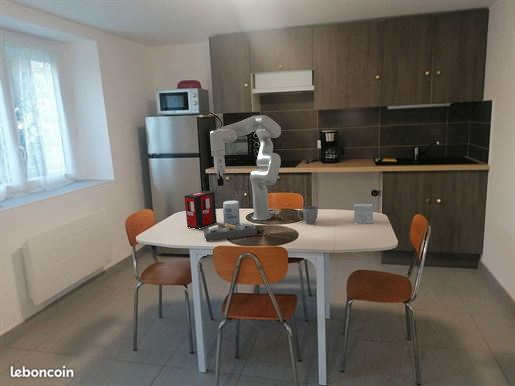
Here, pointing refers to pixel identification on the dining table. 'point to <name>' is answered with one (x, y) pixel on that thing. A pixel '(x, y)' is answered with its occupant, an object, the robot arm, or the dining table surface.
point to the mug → (309, 214)
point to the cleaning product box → (200, 209)
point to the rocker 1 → (213, 228)
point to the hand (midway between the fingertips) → (220, 185)
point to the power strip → (231, 232)
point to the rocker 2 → (245, 224)
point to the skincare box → (363, 213)
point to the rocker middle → (230, 226)
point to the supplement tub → (231, 213)
